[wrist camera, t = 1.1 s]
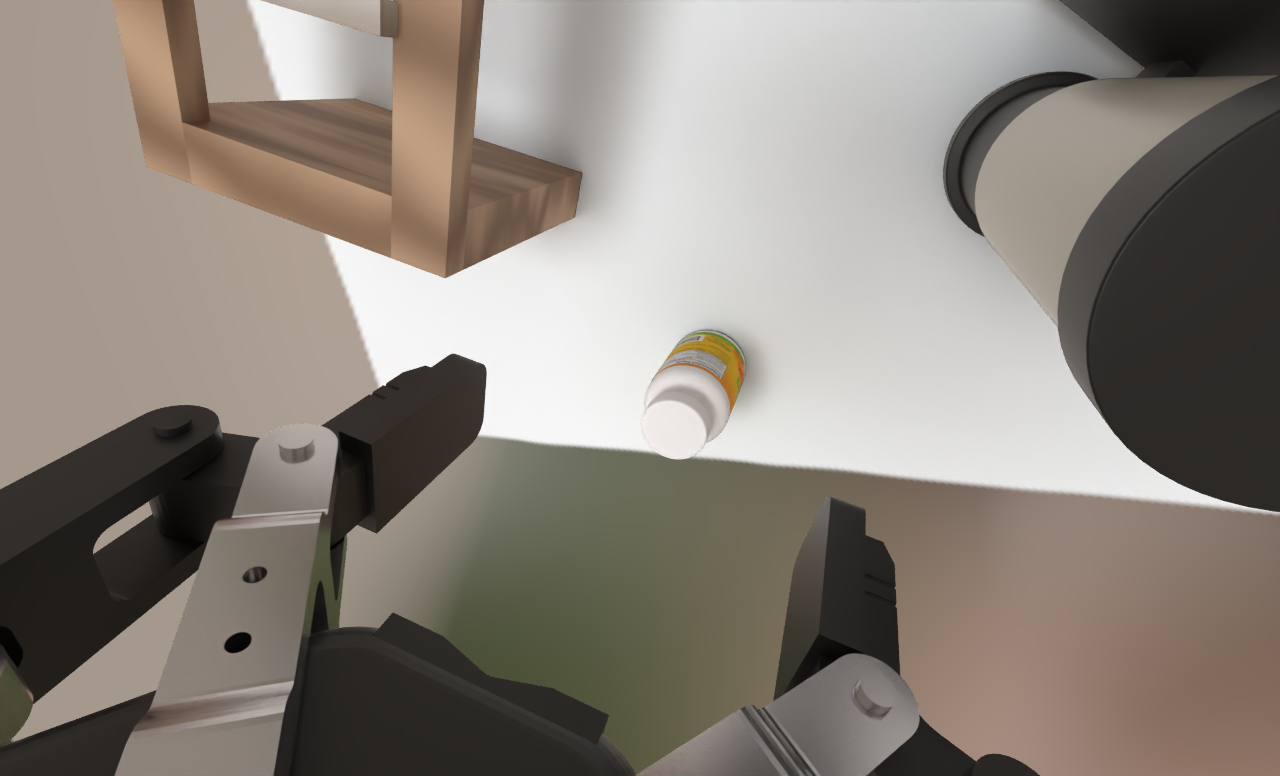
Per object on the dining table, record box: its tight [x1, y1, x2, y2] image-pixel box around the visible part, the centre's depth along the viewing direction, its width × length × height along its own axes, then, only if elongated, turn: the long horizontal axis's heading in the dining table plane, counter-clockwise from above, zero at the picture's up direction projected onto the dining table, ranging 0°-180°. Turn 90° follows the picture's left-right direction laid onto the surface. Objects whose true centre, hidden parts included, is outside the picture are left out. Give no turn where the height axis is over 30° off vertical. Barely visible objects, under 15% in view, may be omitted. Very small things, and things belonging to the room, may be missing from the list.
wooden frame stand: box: [113, 0, 582, 278], centre depth 30 cm, size 20×18×16 cm
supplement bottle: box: [641, 330, 746, 459], centre depth 38 cm, size 5×5×10 cm
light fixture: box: [943, 0, 1280, 512], centre depth 20 cm, size 12×11×25 cm
